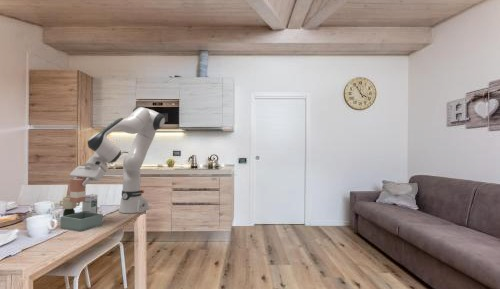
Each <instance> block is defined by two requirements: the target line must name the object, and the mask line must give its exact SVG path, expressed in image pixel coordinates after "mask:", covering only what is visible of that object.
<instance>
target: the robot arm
mask: <svg viewBox="0 0 500 289" xmlns="http://www.w3.org/2000/svg"><path fill="white" fill-rule="evenodd" d="M165 122H166V117H165V116H164V114H162V113H160V112H157V111H155V110H154V109H149V108H148V107H147V108H146V107H144V106H135V107H134V108H133V110H132V111H131V113H130V114H129V115H128V116H127V117H126V118H123V117H120V118H117V119H116V120H114V121H113V122H111V123H110V124H108V125H107V126H106V127H103V129H102V130H100V131H99V132H97V133H95V134H93V135H92V136H90V137H89V138H88V140H87V146H88V148H89V150H92V151H93V152H94V153H93V155H92V156H90V157H89V158H88V160H86V162H84V164H82V165H78V166H77V167H75V168H74V169H73V170H72V171H71V172H70V173H69V176H70V178H71V179H86V180H85V181H84V182H82V183H81V185H82V186H85V185H87V184H89V183H90V182H98V181H100V180H102V178H104V176H105V175H106V173H108V171H109V169H108V168H107V166H106V163H108V164H110V163H111V164H112V163H115V162H117V161H118V160H119V158H120V157H121V154H122V150H121V149H120V148H119V147H118V146H117V145H116V144H114V142H112V141H111V140H110V139H109V138H107V136H109V135H110V134H112V132H114V131H116V130H119V131H121V132H124V133H126V134H131V135H136V136H135V138H134V139H133V141H132V144H131V147H130V149H129V151H128V153H127V155H126V156H124V158H123V161H122V162H123V163H122V165H123V166H122V178H123V179H122V191H121V199H120V206H119V208H118V212H119V213H122V214H137V213H138V214H140V213H144V212H146V211H149V210H151V209H152V206H150V205H149V202H148V199H147V198H146V197H144V196H143V195H142V194H144V193H145V189H144V190H143V189H142V190H141V168H142V166H143V163H144V161H145V159H146V156H147V154H148V151H149V148H150V147H151V144H152V142H153V141H154V139H155V136H156V133H157V131H158V130H159V129H161V128H163V127H164V125H165Z"/></svg>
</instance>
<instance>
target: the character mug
mask: <svg viewBox="0 0 500 289" xmlns="http://www.w3.org/2000/svg"><path fill="white" fill-rule="evenodd" d="M80 203H81V202H78V203H75V202H70V196H64V197H62V199H60V200H59V206H60V207H62V209H63V214H62V216H67V215H71V214H75V208H77V207H79V206H80Z"/></svg>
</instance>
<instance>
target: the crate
mask: <svg viewBox="0 0 500 289" xmlns="http://www.w3.org/2000/svg"><path fill="white" fill-rule="evenodd" d="M103 217H104V214H103V213H98V212H97V213H90V212H82V211H81V212H76V213H75V214H71V215H67V216H63V215H62V216H60V225H59V226H60V229H64V230H69V231H75V232H84V231H87V230H90V229H94V228H97V227H99V226H103V220H104V218H103Z"/></svg>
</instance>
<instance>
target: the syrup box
mask: <svg viewBox="0 0 500 289" xmlns="http://www.w3.org/2000/svg"><path fill="white" fill-rule="evenodd" d="M98 197H99V196H98V194H95V193H89V194H86V195H85V201H83V202H81V203H82V205H81V206H82V207H81V210H82V211H81V212H90V213H98Z"/></svg>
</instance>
